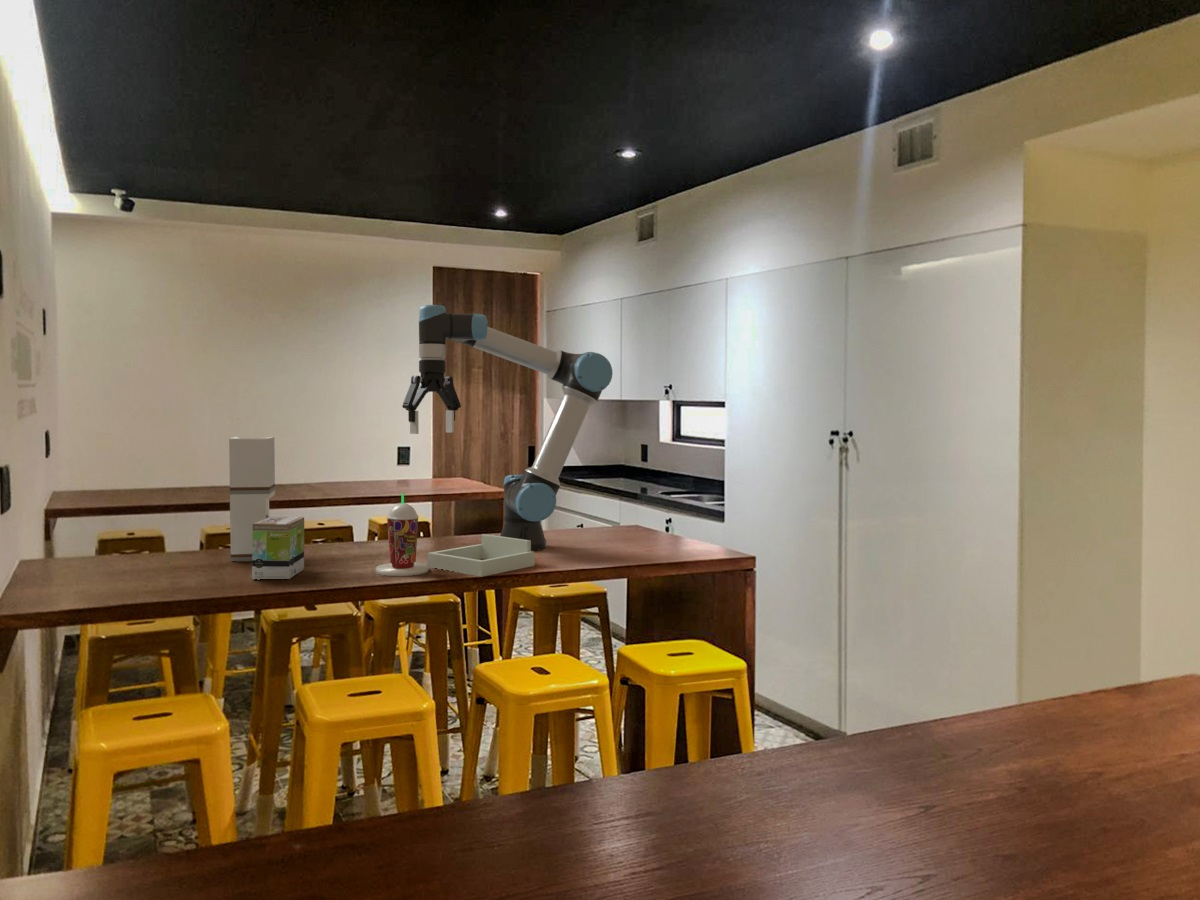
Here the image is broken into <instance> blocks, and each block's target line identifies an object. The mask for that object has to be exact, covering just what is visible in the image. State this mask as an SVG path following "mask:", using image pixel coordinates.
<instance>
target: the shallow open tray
mask: <svg viewBox="0 0 1200 900" xmlns="http://www.w3.org/2000/svg"><path fill="white" fill-rule="evenodd" d="M535 554H536V553H535V551H531V540H523V539H516V538H509V537H502V536H500V535H493V534H485V533H484V534H481V543H478V544H471V545H468V546H462V547H460V546H459V547H456V548H449V549H442V550H438V551H431V552H427V565H428V566H429V567H431V568H430V569H435V568H437V569H436V570H441V569H443V570H442V571H446V570H449V571H448V572H452V571H454V572H453V573H458V572H459V574H464V575H470V576H476V577H482V578H483V577H487V576H492V575H496V574H500V573H501V574H502V573H505V572H511V571H516V570H520V569H526V568H530V567H535V562H536V561H535V558H536V557H535ZM481 559H482V560H481Z"/></svg>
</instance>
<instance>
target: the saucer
mask: <svg viewBox="0 0 1200 900" xmlns="http://www.w3.org/2000/svg"><path fill="white" fill-rule="evenodd" d="M429 571H430V570H429V566H428V564H426V563H423V562H414V566H413V567H411V568H405V569H398V568H393V567H392V563H383V564H380V565H378V566H375V574H377V575H379V576H384V575H386V576H387V577H411V576H413V575H414V576H419V575H424V574H427V573H428V572H429ZM426 572H427V573H426ZM386 576H385V577H386Z"/></svg>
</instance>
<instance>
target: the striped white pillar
mask: <svg viewBox="0 0 1200 900" xmlns="http://www.w3.org/2000/svg"><path fill="white" fill-rule="evenodd" d="M228 444H229V445H228V446H229V447H228V448H229V449H228V451H229V454H228V455H229V460H228V461H229V464H228V465H229V520H230V521H229V522H230V525H229V526H230V530H229V531H230V535H229V536H230V562H231V561H236V562H252V540H253V523H256V522H258V521H261V520H263V519H265V518H268V517H270V499H271V498H272V497H275V495H276V475H275V474H276V470H275V469H276V467H275V466H276V463H275V458H276V457H275V454H276V453H275V436H270V437H259V438H254V437H253V438H252V437H251V438H250V437H248V438H246V437H245V438H244V437H243V438H242V437H241V438H240V436H234V437H230V438H228Z"/></svg>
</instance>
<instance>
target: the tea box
mask: <svg viewBox="0 0 1200 900" xmlns="http://www.w3.org/2000/svg"><path fill="white" fill-rule="evenodd" d="M304 569H305V517H301V516H299V517H298V516H297V517H296V516H269V517H268V518H265V519H263V520H261V521H258V522H256V523H253V540H252V561H251V579H252V580H255V579H257V580H258V581H260V579H289V580H290V579H291V578H293V577H294V576H295V575H297V574H299V573H300V572H302V571H303V570H304ZM257 580H256V581H257Z"/></svg>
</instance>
